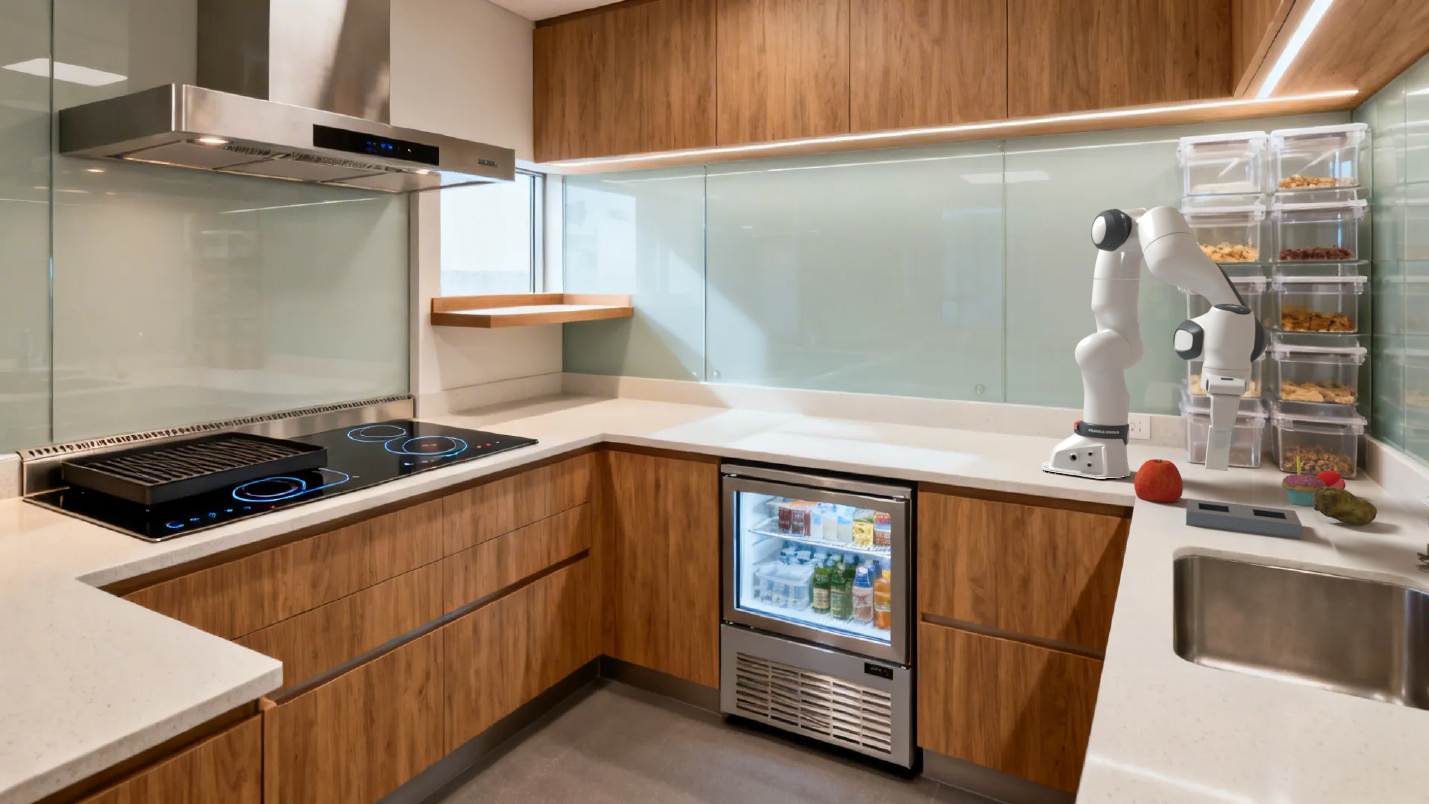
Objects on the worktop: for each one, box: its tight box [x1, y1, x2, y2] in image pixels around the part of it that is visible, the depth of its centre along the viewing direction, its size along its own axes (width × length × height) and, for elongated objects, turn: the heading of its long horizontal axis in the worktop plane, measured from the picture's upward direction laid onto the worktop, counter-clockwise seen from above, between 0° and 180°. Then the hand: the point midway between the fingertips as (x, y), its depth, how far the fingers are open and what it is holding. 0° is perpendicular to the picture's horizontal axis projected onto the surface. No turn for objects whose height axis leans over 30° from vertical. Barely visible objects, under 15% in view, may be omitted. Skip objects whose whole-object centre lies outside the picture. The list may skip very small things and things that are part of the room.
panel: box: [1185, 498, 1303, 541], centre depth 173 cm, size 20×12×4 cm, turn 60°
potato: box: [1313, 486, 1378, 526], centre depth 176 cm, size 8×13×8 cm, turn 74°
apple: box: [1134, 458, 1184, 504], centre depth 193 cm, size 10×10×10 cm
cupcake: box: [1281, 453, 1326, 507], centre depth 191 cm, size 9×8×12 cm
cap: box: [1314, 470, 1346, 490], centre depth 199 cm, size 8×6×6 cm
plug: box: [1204, 424, 1236, 472], centre depth 173 cm, size 5×4×9 cm
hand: (1218, 445), depth 173 cm, fingers closed on plug, 4 cm apart
